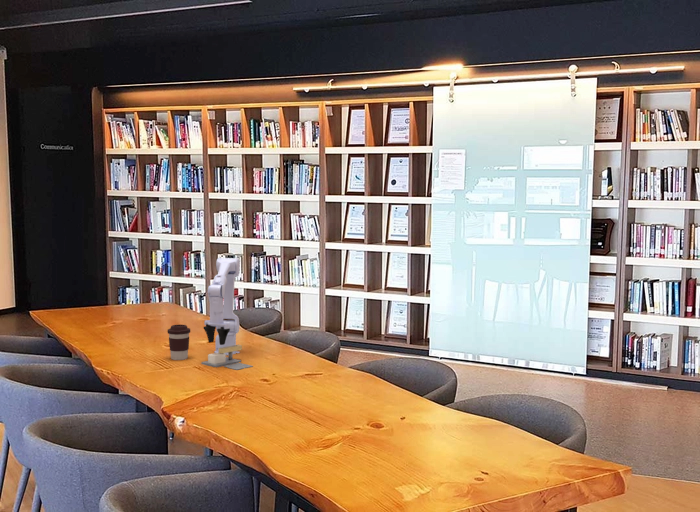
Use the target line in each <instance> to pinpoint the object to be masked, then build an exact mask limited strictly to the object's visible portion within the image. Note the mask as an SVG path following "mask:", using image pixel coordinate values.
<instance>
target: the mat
mask: <svg viewBox="0 0 700 512" xmlns="http://www.w3.org/2000/svg"><path fill="white" fill-rule="evenodd" d="M226 367H227V368H226ZM223 368H226V369H231V370H235V371H239V370H243V369H244V368H245V369H248V368H254V365H251V364H247V363H242V362H240V363H235V364H230V365H226V366H223Z"/></svg>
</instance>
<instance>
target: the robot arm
mask: <svg viewBox="0 0 700 512" xmlns="http://www.w3.org/2000/svg"><path fill="white" fill-rule="evenodd" d="M215 263H216V264H215V265H216V266H215V267H216V268H215V269H216V271H217V274H216V275H215V276H214V277H213V280H212V282H211V284H210V285H208V288H207V296H208V302H209V319H208V320H207V319H205V320H204V323H203V324H204V326H203V329H204V332H205V333H206V336H207V341H208V343H210V344H211V343H215V350H214V351H213V353H219V348H222V347H227V346H233V345H237V341H236V340H237V334H238V333H239V331H240V318H239V316H238V315H236V313H234V305H235V303H234V301H235V298H234V297H235V282H236V278H238V277H239V274H240V264H241V263H240V259H239V258H238V257H236V258H235V257H233V258H231V257H225V258H224V257H218V258H217V259H216V262H215ZM215 332H217V334H216V336H215ZM236 353H237V354H240V353H241V352H240V351H239V350H238V351H233V355H236ZM224 354H226V356H228V352H227V353H224Z"/></svg>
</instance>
